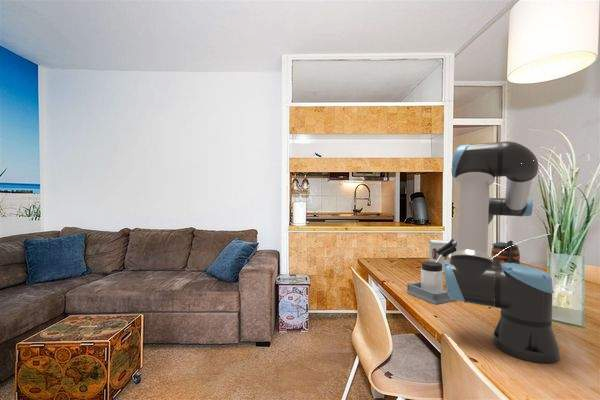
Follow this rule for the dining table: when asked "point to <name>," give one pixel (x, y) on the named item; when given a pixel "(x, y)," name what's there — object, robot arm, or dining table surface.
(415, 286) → the dock bay
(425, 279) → the jar
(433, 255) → the supplement box
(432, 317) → the dining table surface
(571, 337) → the dining table surface
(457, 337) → the dining table surface
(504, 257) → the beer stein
